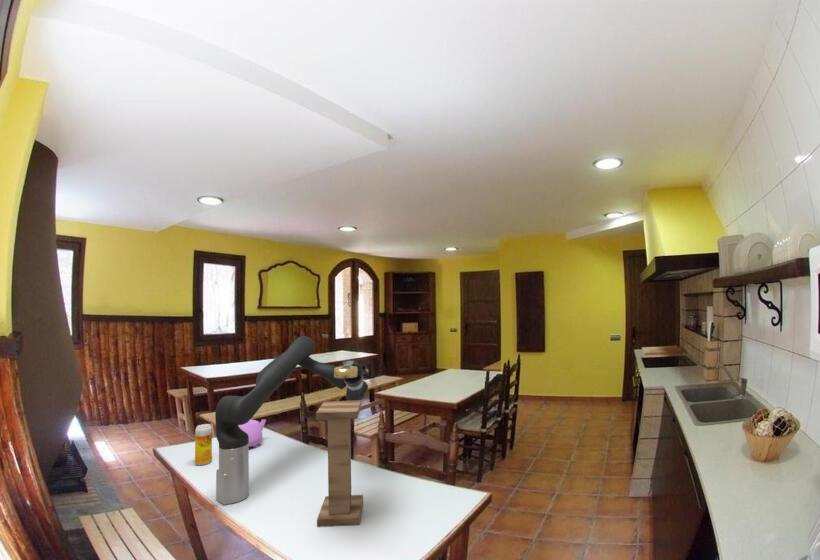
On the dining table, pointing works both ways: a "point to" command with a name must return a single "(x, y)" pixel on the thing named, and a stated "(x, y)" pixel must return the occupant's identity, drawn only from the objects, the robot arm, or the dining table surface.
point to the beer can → (203, 444)
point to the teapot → (253, 431)
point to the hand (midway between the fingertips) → (349, 362)
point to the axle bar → (345, 371)
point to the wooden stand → (339, 465)
